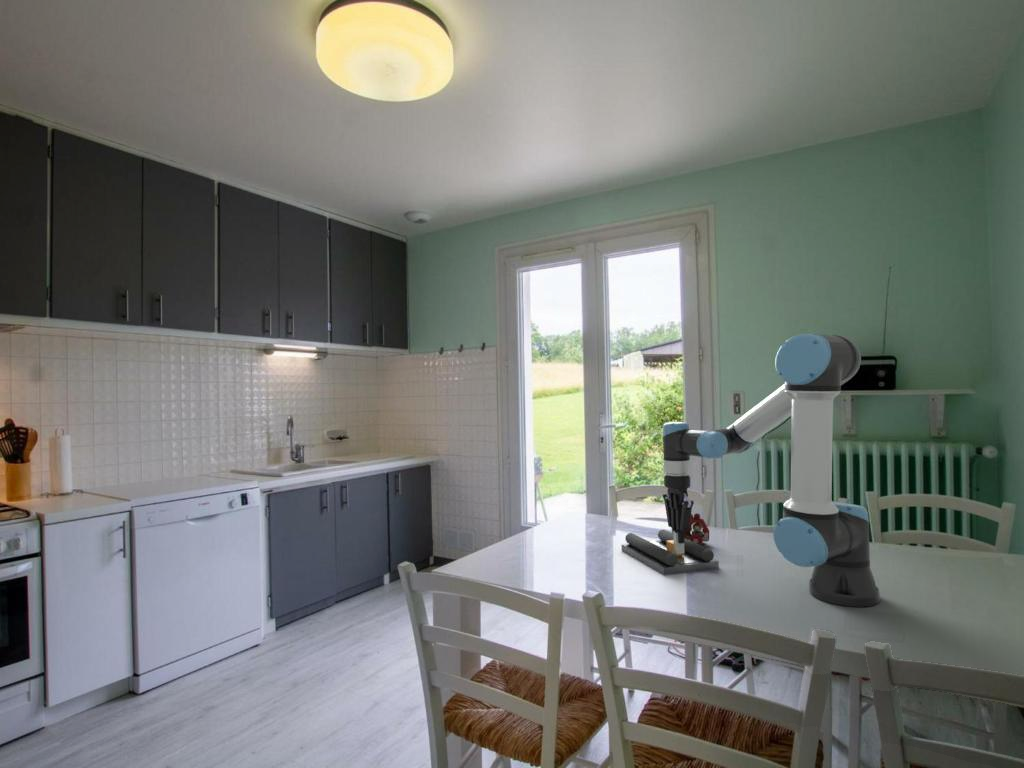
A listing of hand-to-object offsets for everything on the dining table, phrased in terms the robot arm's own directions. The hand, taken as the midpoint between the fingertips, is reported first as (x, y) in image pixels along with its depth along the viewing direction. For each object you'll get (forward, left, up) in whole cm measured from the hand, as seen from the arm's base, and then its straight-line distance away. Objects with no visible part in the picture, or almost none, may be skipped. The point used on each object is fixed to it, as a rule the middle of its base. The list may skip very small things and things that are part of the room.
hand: (679, 553), depth 166 cm
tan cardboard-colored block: (+2, 0, -1) cm, 2 cm away
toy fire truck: (+19, -16, -4) cm, 25 cm away
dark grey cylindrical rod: (+7, -6, -2) cm, 9 cm away
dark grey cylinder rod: (+7, +6, -2) cm, 9 cm away
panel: (+7, 0, -4) cm, 8 cm away
